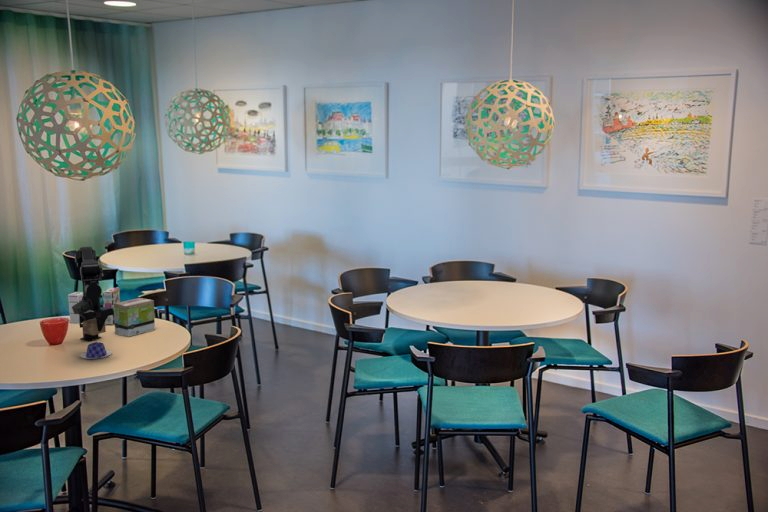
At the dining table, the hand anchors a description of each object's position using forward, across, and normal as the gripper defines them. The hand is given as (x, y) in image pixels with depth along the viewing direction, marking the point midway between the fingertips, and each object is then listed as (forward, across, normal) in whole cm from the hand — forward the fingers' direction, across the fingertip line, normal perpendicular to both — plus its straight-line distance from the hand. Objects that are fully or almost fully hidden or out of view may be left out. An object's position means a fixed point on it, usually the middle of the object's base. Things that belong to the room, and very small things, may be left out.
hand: (94, 330), depth 282 cm
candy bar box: (+11, -37, +38) cm, 54 cm away
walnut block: (+1, 0, 0) cm, 1 cm away
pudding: (+11, 0, 0) cm, 11 cm away
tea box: (+11, -14, +32) cm, 37 cm away
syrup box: (+11, -52, +30) cm, 61 cm away
